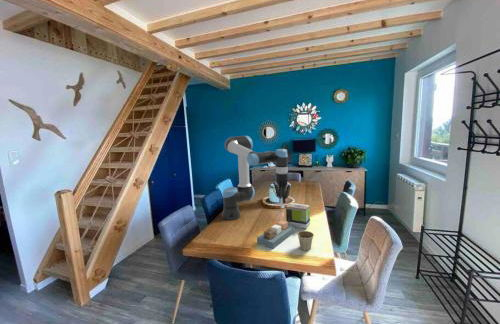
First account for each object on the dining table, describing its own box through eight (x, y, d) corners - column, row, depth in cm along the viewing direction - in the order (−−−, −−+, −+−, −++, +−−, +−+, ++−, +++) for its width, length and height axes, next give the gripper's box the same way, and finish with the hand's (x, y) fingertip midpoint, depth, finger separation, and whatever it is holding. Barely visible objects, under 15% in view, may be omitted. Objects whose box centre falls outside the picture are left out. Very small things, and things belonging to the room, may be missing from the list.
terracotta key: (277, 228, 159) (277, 222, 159) (281, 225, 163) (281, 220, 162) (284, 230, 156) (283, 224, 156) (287, 227, 160) (287, 221, 159)
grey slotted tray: (257, 243, 148) (256, 237, 147) (279, 228, 168) (279, 223, 167) (273, 249, 140) (272, 242, 140) (294, 232, 160) (294, 227, 160)
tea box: (310, 224, 173) (310, 204, 171) (306, 229, 165) (306, 209, 162) (290, 220, 181) (290, 202, 178) (285, 225, 172) (285, 206, 170)
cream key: (271, 232, 153) (271, 226, 153) (275, 230, 157) (275, 224, 156) (277, 234, 150) (277, 228, 150) (281, 231, 154) (281, 226, 153)
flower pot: (312, 253, 134) (312, 239, 133) (296, 250, 138) (295, 236, 136) (314, 245, 143) (314, 232, 141) (298, 243, 146) (298, 229, 145)
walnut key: (264, 237, 147) (263, 231, 146) (268, 234, 151) (268, 228, 150) (270, 239, 144) (270, 233, 143) (274, 236, 148) (274, 230, 147)
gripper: (270, 173, 155) (271, 207, 159) (287, 175, 147) (288, 211, 150) (276, 171, 161) (277, 204, 164) (293, 172, 153) (294, 207, 156)
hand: (282, 207), depth 157 cm, fingers closed
